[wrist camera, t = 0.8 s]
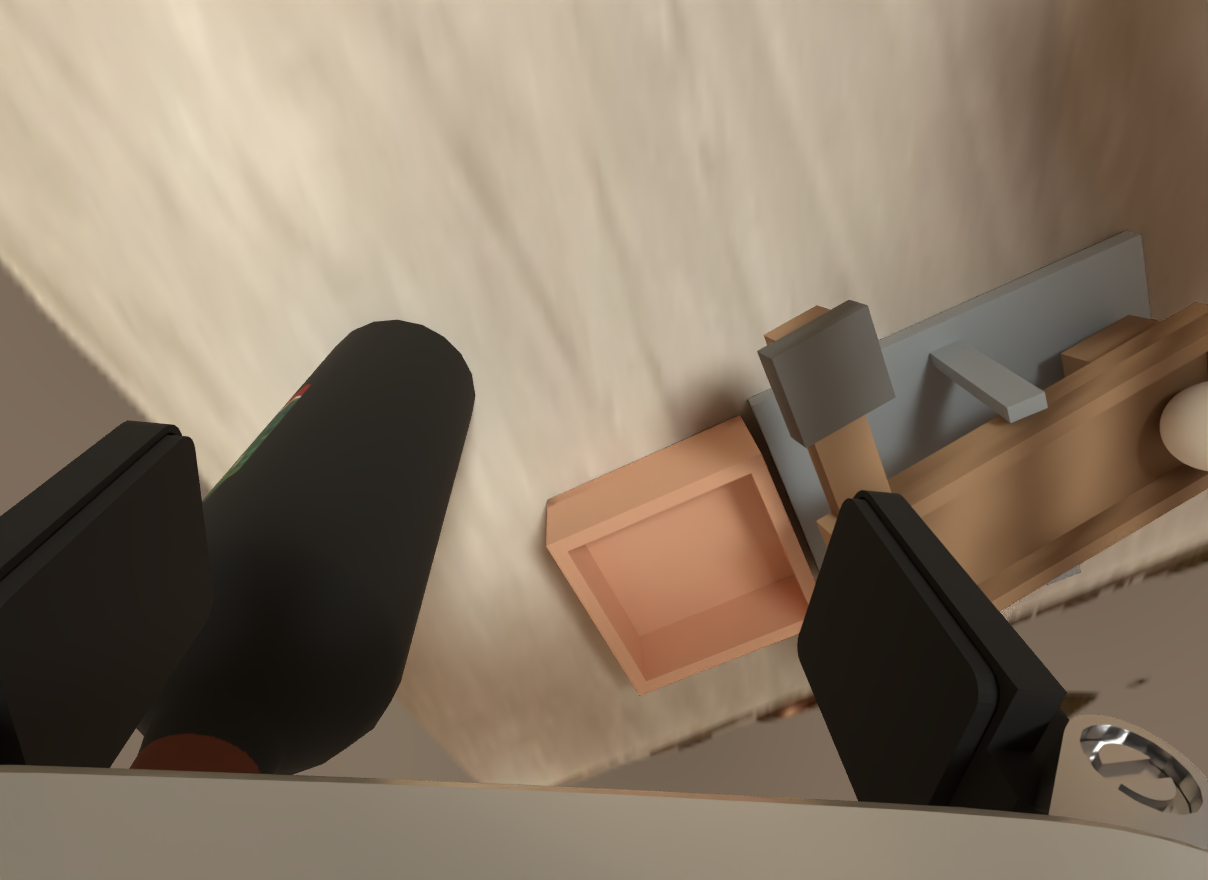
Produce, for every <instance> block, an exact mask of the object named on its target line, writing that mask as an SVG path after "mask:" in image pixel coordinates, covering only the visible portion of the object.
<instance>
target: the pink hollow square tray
mask: <svg viewBox="0 0 1208 880" xmlns="http://www.w3.org/2000/svg"><path fill="white" fill-rule="evenodd" d="M546 547H547V548H548V550H549V552H550V553H551V555H552V556H553V558H554V560H555V561H556V563H557V564H558V566H559V568H560V569H561V571H562V572H563V574H564V576H565V577H566V579H567V580H568V582H569V584H570V585H571V587H572V588H573V590H574V592H575V593H576V595H577V596H578V598H579V600H580V601H581V603H582V604H583V606H584V608H585V609H586V611H587V612H588V614H589V616H590V617H591V619H592V621H593V622H594V624H595V625H596V627H597V629H598V630H599V632H600V633H601V635H602V637H603V638H604V640H605V641H606V643H607V645H608V646H609V648H610V649H611V651H612V653H613V654H614V656H615V657H616V659H617V661H618V662H619V664H620V665H621V667H622V669H623V670H624V672H625V673H626V675H627V677H628V678H629V680H630V681H631V683H632V685H633V686H634V688H635V689H636V691H637V693H638V694H639V696H640V695H642V694H645V693H648V692H650V691H653V690H655V689H658V688H660V687H663V686H666V685H668V684H671V683H673V682H676V681H678V680H681V679H683V678H686V677H689V676H691V675H694V674H696V673H699V672H701V671H704V670H707V669H709V668H712V667H714V666H717V665H719V664H722V663H725V662H727V661H730V660H732V659H735V658H737V657H740V656H742V655H745V654H748V653H750V652H753V651H755V650H758V649H760V648H763V647H766V646H768V645H771V644H773V643H776V642H778V641H781V640H784V639H786V638H789V637H791V636H794V635H796V634H799V632H800V629H801V626H802V623H803V620H804V617H805V614H806V611H807V608H808V605H809V602H810V599H811V596H812V593H813V590H814V587H815V584H816V583H815V580H814V578H813V575H812V573H811V571H810V568H809V566H808V564H807V561H806V559H805V556H804V554H803V552H802V549H801V547H800V544H799V542H798V540H797V537H796V535H795V533H794V530H793V528H792V525H791V523H790V521H789V518H788V516H787V514H786V511H785V509H784V506H783V504H782V502H781V499H780V497H779V495H778V492H777V490H776V487H775V485H774V483H773V480H772V478H771V475H770V473H769V471H768V468H767V466H766V464H765V461H764V459H763V456H762V454H761V452H760V450H759V448H758V447H757V445H756V443H755V441H754V440H753V438H752V436H751V434H750V432H749V431H748V429H747V427H746V425H745V423H744V422H743V420H742V418H741V416H740V415H739V416H737V417H734V418H732V419H730V420H727V421H725V422H723V423H721V424H718V425H716V426H714V427H712V428H709V429H707V430H705V431H703V432H700V433H698V434H696V435H693V436H691V437H689V438H687V439H684V440H682V441H680V442H678V443H675V444H673V445H671V446H669V447H666V448H664V449H662V450H660V451H657V452H655V453H653V454H650V455H648V456H646V457H644V458H641V459H639V460H637V461H635V462H632V463H630V464H628V465H626V466H623V467H621V468H619V469H617V470H614V471H612V472H610V473H607V474H605V475H603V476H601V477H598V478H596V479H594V480H592V481H589V482H587V483H585V484H583V485H580V486H578V487H576V488H573V489H571V490H569V491H567V492H564V493H562V494H560V495H558V496H555V497H553V498H551V499H549V500H547V532H546Z"/></svg>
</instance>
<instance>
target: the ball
mask: <svg viewBox="0 0 1208 880" xmlns="http://www.w3.org/2000/svg"><path fill="white" fill-rule="evenodd" d="M1160 435H1161V438H1162V441H1163V443H1164V445H1165V446H1166V448H1167V449H1168V450H1169V452H1170V453H1171V454H1172V455H1173V456H1174V457H1176V458H1177V459H1178V460H1180V461H1181V462H1183V463H1184V464H1186V465H1189V466H1191V467H1193V468H1196V469H1200V470H1204V471H1208V381H1206V382H1202V383H1198V384H1195V385H1192V386H1190V387H1188V388H1186V389H1184V390H1182V391H1181V392H1179V393H1178V394H1177V395H1175V396H1174V397H1173V398H1172V399H1171V400H1170V401H1169V402H1168V404H1167V405H1166V407H1165V408H1164V410H1163V412H1162V415H1161V418H1160Z"/></svg>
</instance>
